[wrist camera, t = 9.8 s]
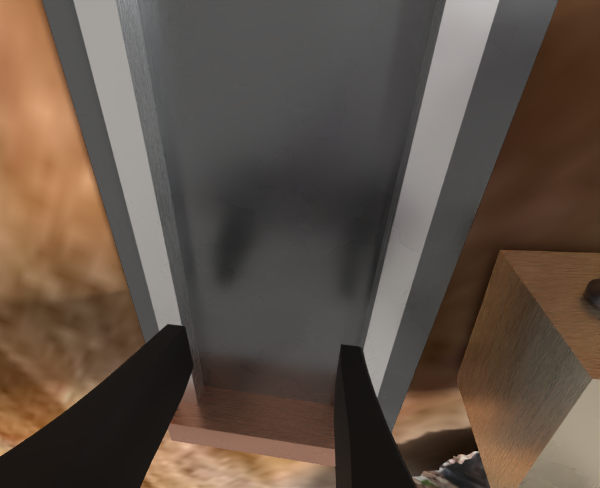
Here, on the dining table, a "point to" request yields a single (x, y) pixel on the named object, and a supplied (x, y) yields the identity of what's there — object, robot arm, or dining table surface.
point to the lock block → (537, 371)
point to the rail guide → (292, 185)
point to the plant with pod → (456, 474)
